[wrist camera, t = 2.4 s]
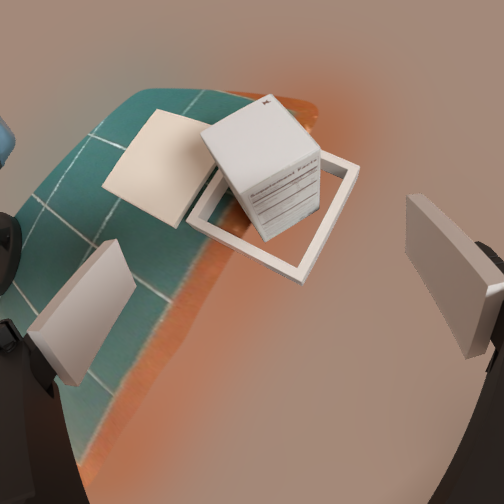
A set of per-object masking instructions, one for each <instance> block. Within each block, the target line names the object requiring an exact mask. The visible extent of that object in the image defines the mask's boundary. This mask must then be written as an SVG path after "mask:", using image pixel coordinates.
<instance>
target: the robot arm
mask: <svg viewBox="0 0 504 504" xmlns="http://www.w3.org/2000/svg"><path fill="white" fill-rule="evenodd" d="M14 146H15V137H14V134H13V132H12V131H11V130H10V128H9V127H8V126H7V124H6V123H5V122H4V120H3V119H2V118H1V117H0V169H1V168H2V167H3V166H4V164H5V161H6V159H7V158H8V156H9V155H10V153H11V152H12V150H13V149H14ZM21 245H22V236H21V229H20V226H19V223H18V221H17V220H16V219H15V218H14V217H12V216H10V215H8V214H6V213H3V212H0V296H1V295H2V294H3V293H4V292H5V291H6V290H7V289H8V287H9V286H10V284H11V282H12V280H13V278H14V276H15V273H16V271H17V267H18V264H19V260H20V254H21ZM405 253H406V254H407V256H408V257H409V259H410V260H411V262H412V264H413V265H414V267H415V268H416V270H417V272H418V273H419V275H420V277H421V278H422V280H423V282H424V283H425V285H426V287H427V288H428V290H429V292H430V293H431V295H432V297H433V298H434V300H435V302H436V304H437V306H438V307H439V309H440V311H441V313H442V314H443V316H444V318H445V320H446V322H447V324H448V326H449V327H450V329H451V331H452V333H453V335H454V337H455V339H456V341H457V343H458V345H459V347H460V349H461V351H462V353H463V355H464V357H465V359H469V358H472V357H476V356H479V355H482V354H485V352H486V350H487V347H488V345H489V342H490V339H491V341H492V343H493V345H494V346H495V351H494V353H493V356H492V358H491V360H490V362H489V365H488V367H487V369H486V372H487V375H486V379H485V382H484V385H483V388H482V391H481V393H480V396H479V399H478V402H477V404H476V407H475V410H474V412H473V415H472V417H471V420H470V422H469V424H468V427H467V429H466V431H465V434H464V436H463V438H462V440H461V443H460V445H459V447H458V449H457V451H456V453H455V455H454V457H453V459H452V461H451V463H450V465H449V467H448V469H447V471H446V473H445V475H444V476H443V478H442V480H441V482H440V484H439V485H438V487H437V489H436V490H435V492H434V494H433V495H432V497H431V499H430V500H429V502H428V504H504V261H503V260H502V259H501V258H500V257H498V255H497V254H496V253H495V252H494V251H493V250H492V249H491V248H490V247H488V246H487V245H485V244H483V243H481V242H479V241H478V242H473V241H472V240H471V239H470V238H469V237H468V236H467V235H466V234H465V233H464V232H463V231H462V230H461V229H460V228H459V227H458V226H457V225H456V224H455V223H454V222H453V221H452V220H451V219H450V218H448V217H447V216H446V215H445V214H444V213H443V212H442V211H441V210H440V209H439V208H438V207H437V206H435V205H434V204H433V203H432V202H431V201H430V200H429V199H428V198H427V197H425V196H424V195H423V194H422V193H421V194H412V195H406V248H405ZM136 287H137V286H136V284H135V282H134V279H133V277H132V275H131V272H130V270H129V268H128V265H127V263H126V261H125V258H124V256H123V253H122V251H121V248H120V246H119V243H118V241H117V239H113V240H108V241H104V242H103V243H102V244H101V245H100V246H99V247H98V248H97V249H96V251H95V252H94V253H93V254H92V255H91V256H90V257H89V258H88V259H87V260H86V261H85V262H84V263H83V265H82V266H81V267H80V268H79V269H78V270H77V271H76V272H75V273H74V274H73V276H72V277H71V278H70V279H69V280H68V281H67V282H66V284H65V285H64V286H63V287H62V288H61V289H60V290H59V292H58V293H57V294H56V295H55V296H54V297H53V299H52V300H51V301H50V302H49V303H48V305H47V306H46V307H45V308H44V309H43V311H42V312H41V313H40V314H39V316H38V317H37V318H36V319H35V321H34V322H33V323H32V324H31V326H30V327H29V328H28V330H27V334H26V335H25V336H24V338H23V337H22V336H21V334H20V333H19V331H18V330H17V328H16V327H15V325H14V324H13V322H12V320H11V319H4V320H1V321H0V504H90V503H89V501H88V498H87V495H86V492H85V490H84V487H83V484H82V481H81V478H80V475H79V471H78V468H77V465H76V462H75V458H74V455H73V451H72V448H71V444H70V440H69V436H68V432H67V428H66V423H65V419H64V414H63V410H62V405H61V400H60V394H59V389H58V386H57V384H56V383H55V381H54V378H55V376H56V375H58V376H59V378H60V379H61V380H62V381H63V383H64V384H65V385H70V386H78V387H79V385H80V383H81V381H82V379H83V378H84V376H85V374H86V372H87V370H88V368H89V367H90V365H91V363H92V361H93V359H94V358H95V356H96V354H97V352H98V350H99V349H100V347H101V345H102V343H103V342H104V340H105V338H106V336H107V335H108V333H109V331H110V330H111V328H112V326H113V324H114V323H115V321H116V319H117V318H118V316H119V314H120V313H121V311H122V309H123V308H124V306H125V304H126V303H127V301H128V300H129V298H130V296H131V295H132V293H133V291H134V290H135V288H136Z"/></svg>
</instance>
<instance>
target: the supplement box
mask: <svg viewBox="0 0 504 504" xmlns="http://www.w3.org/2000/svg"><path fill="white" fill-rule="evenodd" d="M200 136H201V138H202V140H203V142H204V143H205V145H206V147H207V149H208V150H209V152H210V154H211V156H212V157H213V159H214V161H215V163H216V164H217V166H218V168H219V170H220V171H221V173H222V175H223V177H224V178H225V180H226V182H227V183H228V185H229V187H230V189H231V190H232V192H233V194H234V195H235V197H236V199H237V200H238V202H239V203H240V205H241V207H242V208H243V210H244V211H245V213H246V214H247V216H248V217H249V219H250V221H251V222H252V224H253V225H254V227H255V228H256V230H257V231H258V233H259V234H260V236H261V237H262V239H263V241H264V242H267V241H268V240H270V239H271V238H273V237H275V236H276V235H278V234H280V233H281V232H283V231H284V230H286V229H288V228H289V227H291V226H293V225H294V224H296V223H297V222H299V221H301V220H302V219H304V218H306V217H307V216H309V215H310V214H312V213H314V212H315V211H317V210H318V209H319V202H320V157H321V154H320V152H321V148H320V146H319V145H318V144H317V143H316V142H315V140H314V139H313V138H312V137H311V136H310V135H309V134H308V132H307V131H306V130H305V129H304V128H303V127H302V126H301V125H300V124H299V122H298V121H297V120H296V119H295V118H294V117H293V115H291V114H290V113H289V112H288V111H287V110H286V108H285V107H284V106H283V105H282V104H281V103H280V102H279V101H278V100H277V99H276V98H275V97H274V96H273V95H272V94H269V95H267V96H265V97H262V98H260V99H258V100H257V101H255V102H253V103H251V104H249V105H247V106H245V107H243V108H242V109H240V110H238V111H236V112H234V113H233V114H231V115H229V116H227V117H226V118H224V119H222V120H220V121H219V122H217V123H215V124H213V125H212V126H210V127H208V128H207V129H205V130H204V131H202V132H201V133H200Z"/></svg>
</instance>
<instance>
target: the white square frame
mask: <svg viewBox="0 0 504 504" xmlns="http://www.w3.org/2000/svg"><path fill="white" fill-rule="evenodd" d="M320 154H321V157H320V169H321V170H324V171H326V172H328V173H331V174H333V175H335V176H337V177H340V178H342V179H343V181H342V183H341V185H340V187H339V189H338V191H337V194H336V195H335V197H334V199H333V201H332V203H331V205H330V207H329V209H328V211H327V213H326V215H325V217H324V219H323V221H322V223H321V225H320V227H319V228H318V230H317V232H316V234H315V236H314V238H313V240H312V242H311V244H310V246H309V247H308V249H307V251H306V253H305V255H304V257H303V258H302V260H301V262H300V264H299V266H298V268H296V267H294V266H292V265H290V264H288V263H287V262H285V261H282V260H281V259H279V258H277V257H275V256H273V255H271V254H269V253H267V252H265V251H263V250H261V249H259V248H257V247H255V246H253V245H251V244H249V243H247V242H246V241H244V240H242V239H240V238H238V237H236V236H234V235H232V234H230V233H228V232H226V231H224V230H222V229H220V228H218V227H216V226H214V225H212V224H210V223H208V222H207V221H208V219H209V217H210V216H211V214H212V212H213V211H214V209H215V208H216V206H217V204H218V203H219V201H220V199H221V198H222V196H223V195H224V193H225V191H226V190H227V188H228V187H229V185H228V183H227V182H226V180H225V178H224V177H223V175H222V173H221V171H220V170H219V169H218V171H217V172H216V174H215V175H214V177H213V179H212V180H211V182H210V183H209V185H208V186H207V188H206V189H205V191H204V192H203V194H202V196H201V197H200V199H199V200H198V202H197V204H196V205H195V207H194V208H193V210H192V212H191V213H190V215H189V216H188V218H187V220H186V222H187V223H188V224H189V225H190V226H191V227H192V228H193V229H195V230H197V231H199V232H201V233H203V234H205V235H206V236H208V237H210V238H212V239H214V240H216V241H218V242H220V243H222V244H223V245H225V246H227V247H229V248H231V249H233V250H235V251H237V252H239V253H241V254H242V255H244V256H246V257H248V258H250V259H252V260H254V261H256V262H258V263H259V264H261V265H263V266H265V267H267V268H269V269H271V270H273V271H275V272H277V273H278V274H280V275H282V276H284V277H286V278H288V279H290V280H292V281H294V282H296V283H298V284H299V285H301V286H302V285H303V284H304V282H305V280H306V278H307V276H308V275H309V273H310V271H311V269H312V267H313V265H314V263H315V262H316V260H317V258H318V256H319V254H320V252H321V250H322V248H323V246H324V244H325V242H326V240H327V238H328V237H329V234H330V233H331V231H332V229H333V227H334V224H335V223H336V221H337V219H338V217H339V215H340V213H341V211H342V209H343V207H344V205H345V203H346V200H347V198H348V196H349V194H350V192H351V190H352V188H353V186H354V184H355V182H356V180H357V178H358V173H359V169H360V166H358V165H356V164H353V163H351V162H349V161H346V160H344V159H342V158H340V157H337V156H335V155H332V154H330V153H327V152H325V151H323V150H321V152H320Z"/></svg>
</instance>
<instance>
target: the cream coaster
mask: <svg viewBox="0 0 504 504" xmlns="http://www.w3.org/2000/svg"><path fill="white" fill-rule="evenodd" d="M210 126H212V125H209V124H206V123H203V122H200V121H197V120H193V119H190V118H187V117H183V116H180V115H176V114H173V113H169V112H166V111H162V110H159V109H156V111H155V112H154V113H153V114H152V116H151V117H150V118H149V120H148V121H147V122H146V124H145V125H144V126H143V127H142V129H141V130H140V131H139V133H138V134H137V136H136V137H135V138H134V140H133V141H132V142H131V144H130V145H129V147H128V148H127V149H126V151H125V152H124V154H123V155H122V156H121V158H120V159H119V161H118V162H117V164H116V165H115V167H114V168H113V170H112V171H111V173H110V174H109V176H108V177H107V179H106V180H105V182H104V183H103V185H102V187H103V188H104V189H105V190H107V191H109V192H111V193H113V194H114V195H116V196H118V197H120V198H121V199H123V200H125V201H127V202H129V203H130V204H132V205H134V206H136V207H137V208H139V209H141V210H143V211H145V212H146V213H148V214H150V215H152V216H154V217H155V218H157V219H159V220H161V221H163V222H164V223H166V224H168V225H170V226H172V227H174V228H175V229H176V228H177V227H178V225H179V223H180V222H181V220H182V219H183V217H184V215H185V214H186V212H187V210H188V209H189V207H190V206H191V204H192V203H193V201H194V199H195V198H196V196H197V195H198V193H199V191H200V190H201V188H202V187H203V185H204V184H205V182H206V181H207V179H208V178H209V176H210V175H211V173H212V171H213V170H214V168H215V167H216V165H217V164H216V163H215V161H214V159H213V157H212V156H211V154H210V152H209V150H208V149H207V147H206V145H205V143H204V142H203V140H202V138H201V136H200V133H201V132H202V131H204V130H205V129H207V128H208V127H210Z"/></svg>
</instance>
